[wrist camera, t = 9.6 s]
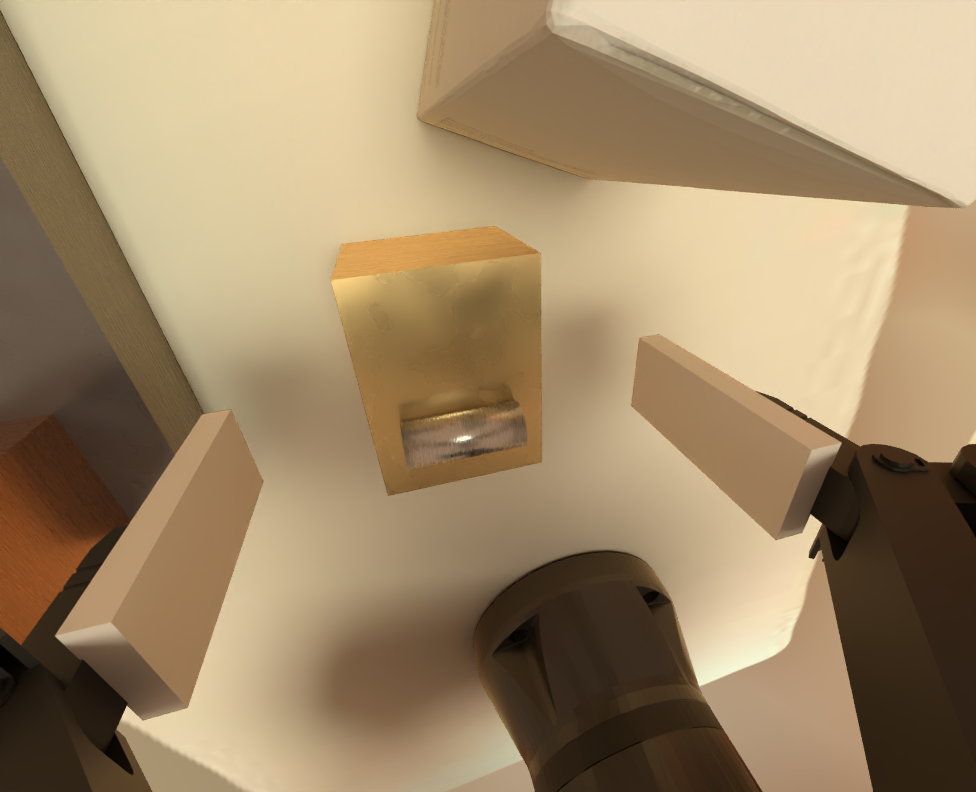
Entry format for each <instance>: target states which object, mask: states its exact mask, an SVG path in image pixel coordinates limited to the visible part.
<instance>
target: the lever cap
mask: <svg viewBox="0 0 976 792" xmlns="http://www.w3.org/2000/svg"><path fill="white" fill-rule="evenodd" d="M331 283H332V287H333V290H334V294H335V298H336V302H337V306H338V309H339V313H340V317H341V321H342V324H343V328H344V332H345V336H346V339H347V343H348V347H349V351H350V354H351V358H352V362H353V366H354V370H355V373H356V377H357V381H358V385H359V388H360V392H361V396H362V400H363V403H364V407H365V411H366V415H367V418H368V422H369V426H370V430H371V434H372V437H373V441H374V445H375V449H376V452H377V456H378V460H379V464H380V467H381V471H382V475H383V479H384V482H385V486H386V490H387V494H388V496H390V495H394V494H399V493H403V492H408V491H412V490H417V489H421V488H426V487H431V486H435V485H440V484H444V483H449V482H453V481H458V480H462V479H467V478H471V477H476V476H481V475H485V474H490V473H494V472H499V471H503V470H508V469H512V468H517V467H521V466H526V465H531V464H535V463H540V462H542V430H541V253H540V252H538V251H536V250H535V249H533V248H531V247H530V246H528V245H526V244H524V243H523V242H521V241H519V240H518V239H516V238H514V237H512V236H511V235H509V234H507V233H506V232H504V231H502V230H500V229H499V228H497V227H495V226H492V227H484V228H475V229H467V230H458V231H450V232H441V233H433V234H424V235H416V236H407V237H399V238H390V239H381V240H373V241H364V242H356V243H347V244H342V246H341V249H340V252H339V255H338V259H337V262H336V265H335V268H334V272H333V275H332V278H331Z"/></svg>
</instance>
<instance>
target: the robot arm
mask: <svg viewBox="0 0 976 792" xmlns="http://www.w3.org/2000/svg"><path fill="white" fill-rule="evenodd" d="M631 406H632V407H633V408H634V409H635V410H637V411H638V412H639V413H640V414H641V415H642V416H643V417H644V418H645V419H646V420H647V421H648V422H649V423H650V424H652V425H653V426H654V427H655V428H656V429H657V430H658V431H659V432H660V433H661V434H662V435H663V436H664V437H666V438H667V439H668V440H669V441H670V442H671V443H672V444H673V445H674V446H675V447H676V448H677V449H678V450H680V451H681V452H682V453H683V454H684V455H685V456H686V457H687V458H688V459H689V460H690V461H691V462H692V463H693V464H695V465H696V466H697V467H698V468H699V469H700V470H701V471H702V472H703V473H704V474H705V475H706V476H707V477H709V478H710V479H711V480H712V481H713V482H714V483H715V484H716V485H717V486H718V487H719V488H720V489H721V490H723V491H724V492H725V493H726V494H727V495H728V496H729V497H730V498H731V499H732V500H733V501H734V502H735V503H736V504H738V505H739V506H740V507H741V508H742V509H743V510H744V511H745V512H746V513H747V514H748V515H749V516H750V517H752V518H753V519H754V520H755V521H756V522H757V523H758V524H759V525H760V526H761V527H762V528H763V529H764V530H766V531H767V532H768V533H769V534H770V535H771V536H772V537H773V538H774V539H775V540H778V539H782V538H785V537H789V536H792V535H796V534H799V533H802V532H803V530H804V528H805V525H806V523H807V521H808V519H809V516H810V514H811V515H813V516H814V517H815V518H816V519H818V520H819V521H820V522H821V523H822V525H821V527H820V530H819V532H818V534H817V536H816V538H815V540H814V543H813V545H812V547H811V549H810V551H809V558H812V559H814V558H815V556H816V554H817V552H818V551H820V550H822V554H823V559H822V561H823V562H824V564H825V568H826V573H827V578H828V582H829V587H830V591H831V596H832V601H833V605H834V610H835V615H836V620H837V624H838V629H839V634H840V639H841V643H842V648H843V652H844V657H845V662H846V666H847V671H848V676H849V680H850V685H851V689H852V694H853V699H854V704H855V708H856V713H857V718H858V723H859V727H860V731H861V737H862V741H863V745H864V751H865V755H866V760H867V764H868V769H869V774H870V779H871V783H872V788H873V792H976V444H969V445H967V446H964V447H962V448H961V450H960V451H959V453H958V455H957V456H956V458H955V460H954V461H953V463H937V462H932V463H931V462H930V463H929V462H927V461H925V460H924V459H922V458H921V457H919V456H917V455H916V454H913V453H911V452H908V451H905V450H903V449H900V448H896V447H892V446H888V445H879V444H869V445H863V446H861V447H860V446H858V445H856V444H855V443H853V442H851V441H850V440H848V439H846V438H844V437H843V436H841V435H839V434H838V433H836V432H834V431H832V430H831V429H829V428H827V427H825V426H824V425H822V424H820V423H819V422H817V421H815V420H813V419H812V418H807V416H806V415H805V414H803V413H801V412H800V411H798V410H794V409H793V407H791V406H789V405H787V404H786V403H784V402H782V401H781V400H779V399H777V398H775V397H772V396H769V395H766V394H763V393H760V392H757V391H754V390H752V389H750V388H749V387H747V386H745V385H744V384H742V383H740V382H739V381H737V380H735V379H734V378H732V377H730V376H729V375H727V374H725V373H724V372H722V371H720V370H718V369H717V368H715V367H713V366H712V365H710V364H708V363H707V362H705V361H703V360H702V359H700V358H698V357H697V356H695V355H693V354H692V353H690V352H688V351H687V350H685V349H683V348H681V347H680V346H678V345H676V344H675V343H673V342H671V341H670V340H668V339H666V338H665V337H663V336H661V335H660V334H658V335H652V336H646V337H641V338H639V344H638V353H637V361H636V370H635V378H634V387H633V395H632V404H631ZM262 484H263V479H262V477H261V475H260V473H259V470H258V468H257V466H256V464H255V462H254V459H253V457H252V455H251V453H250V451H249V448H248V446H247V444H246V442H245V440H244V437H243V435H242V433H241V431H240V429H239V426H238V424H237V422H236V420H235V418H234V415H233V413H232V411H231V409H230V410H224V411H219V412H213V413H207V414H202V415H201V417H200V418H199V420H198V421H197V423H196V424H195V426H194V427H193V429H192V431H191V432H190V434H189V435H188V437H187V438H186V440H185V441H184V443H183V444H182V446H181V447H180V449H179V450H178V452H177V453H176V455H175V456H174V458H173V459H172V461H171V462H170V464H169V465H168V467H167V468H166V470H165V471H164V473H163V474H162V476H161V477H160V479H159V480H158V482H157V483H156V485H155V486H154V488H153V489H152V491H151V492H150V494H149V495H148V497H147V498H146V500H145V501H144V503H143V504H142V506H141V507H140V509H139V510H138V512H137V513H136V515H135V516H134V518H133V519H132V521H131V522H130V524H129V525H126V526H121V527H116V528H114V529H113V530H112V531H110V532H109V533H108V534H107V535H106V536H105V537H103V538H102V539H101V540H100V541H99V542H98V543H97V544H95V545H94V546H93V547H92V548H91V549H90V550H89V552H88V553H87V555H86V556H85V557H84V559H83V560H82V562H81V563H80V564H79V566H78V567H77V568H76V573H73V574H72V575H71V577H70V578H69V579H68V581H67V582H66V584H65V585H64V586H63V591H61V592H59V593H58V595H57V596H56V597H55V599H54V600H53V602H52V603H51V604H50V606H49V607H48V609H47V610H46V611H45V613H44V614H43V615H42V617H41V618H40V620H39V621H38V622H37V624H36V625H35V627H34V628H33V629H32V631H31V632H30V633H29V635H28V636H27V638H26V639H25V640H24V642H23V643H22V645H20V644H19V643H18V642H17V641H15V640H14V639H13V638H12V637H11V636H10V635H9V634H8V633H6V632H5V631H4V630H3V629H1V628H0V792H152V790H151V788H150V786H149V784H148V782H147V780H146V778H145V776H144V774H143V772H142V770H141V768H140V766H139V764H138V762H137V760H136V758H135V756H134V754H133V752H132V750H131V748H130V746H129V744H128V742H127V740H126V738H125V737H124V736H123V735H122V734H121V733H120V732H119V731H117V730H116V728H117V726H118V724H119V722H120V719H121V717H122V715H123V713H124V711H125V708H126V706H128V707H129V708H130V709H131V710H132V711H133V712H134V713H135V714H137V715H138V716H139V717H140V718H141V719H142V720H147V719H150V718H154V717H157V716H161V715H164V714H168V713H171V712H175V711H178V710H182V709H185V708H188V705H189V702H190V699H191V696H192V693H193V690H194V687H195V684H196V681H197V678H198V675H199V672H200V669H201V666H202V663H203V660H204V657H205V654H206V651H207V648H208V645H209V642H210V639H211V636H212V633H213V630H214V627H215V624H216V621H217V619H218V616H219V613H220V610H221V607H222V604H223V601H224V598H225V595H226V592H227V589H228V586H229V583H230V580H231V577H232V574H233V571H234V568H235V565H236V562H237V559H238V556H239V553H240V550H241V547H242V544H243V541H244V538H245V535H246V532H247V529H248V526H249V523H250V520H251V517H252V514H253V511H254V508H255V505H256V502H257V499H258V496H259V493H260V490H261V487H262ZM473 645H474V652H475V657H476V661H477V666H478V671H479V675H480V679H481V682H482V684H483V687H484V689H485V691H486V692H487V694H488V696H489V698H490V700H491V701H492V703H493V705H494V707H495V709H496V711H497V712H498V714H499V716H500V718H501V720H502V721H503V723H504V725H505V727H506V729H507V730H508V732H509V734H510V736H511V738H512V740H513V741H514V743H515V745H516V747H517V749H518V750H519V752H520V754H521V756H522V758H523V759H524V761H525V763H526V765H527V767H528V769H529V771H530V775H531V778H532V782H533V785H534V789H535V792H762V790H761V788H760V787H759V785H758V784H757V782H756V780H755V779H754V777H753V776H752V774H751V772H750V771H749V769H748V768H747V766H746V764H745V763H744V761H743V760H742V758H741V756H740V755H739V754H738V752H737V750H736V748H735V747H734V745H733V744H732V742H731V740H729V737H728V736H727V734H726V733H725V731H724V730H723V728H722V726H721V725H720V723H719V722H718V720H717V718H716V717H715V715H714V713H713V712H712V710H711V708H710V707H709V705H708V704H707V702H706V700H705V698H704V697H703V695H702V693H701V691H700V688H699V685H698V682H697V679H696V676H695V673H694V669H693V666H692V663H691V660H690V657H689V653H688V650H687V647H686V644H685V641H684V637H683V634H682V631H681V628H680V625H679V621H678V618H677V615H676V612H675V609H674V605H673V602H672V600H671V598H670V596H669V594H668V592H667V590H666V589H665V588H664V586H663V585H662V583H661V582H660V580H659V579H658V577H657V576H656V574H655V573H654V571H653V570H652V568H651V567H650V566H649V565H648V564H647V563H645V562H644V561H642V560H641V559H639V558H636V557H634V556H631V555H627V554H622V553H614V552H600V553H590V554H584V555H579V556H575V557H571V558H567V559H564V560H561V561H558V562H555V563H553V564H550V565H548V566H546V567H543V568H541V569H539V570H537V571H535V572H533V573H531V574H530V575H528V576H526V577H525V578H523V579H521V580H520V581H518V582H517V583H515V584H514V585H513V586H511V587H510V588H509V589H507V590H506V591H505V592H504V593H503V594H502V595H500V596H499V597H498V598H497V599H496V600H495V601H494V602H493V603H492V605H491V606H490V607H489V608H488V609H487V611H486V612H485V613H484V615H483V616H482V618H481V620H480V622H479V624H478V626H477V628H476V631H475V635H474V643H473Z"/></svg>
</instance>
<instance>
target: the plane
mask: <svg viewBox="0 0 976 792" xmlns="http://www.w3.org/2000/svg"><path fill="white" fill-rule="evenodd" d="M202 414H203V412H202V410H201V408H200V406H199V404H198V402H197V400H196V398H195V396H194V394H193V392H192V390H191V388H190V386H189V384H188V382H187V380H186V378H185V376H184V374H183V372H182V370H181V368H180V366H179V364H178V362H177V360H176V358H175V356H174V354H173V352H172V350H171V348H170V346H169V344H168V342H167V341H166V339H165V337H164V335H163V333H162V331H161V329H160V327H159V325H158V323H157V321H156V319H155V317H154V315H153V313H152V311H151V309H150V307H149V305H148V303H147V301H146V299H145V297H144V295H143V293H142V291H141V289H140V287H139V285H138V283H137V281H136V279H135V277H134V275H133V273H132V271H131V269H130V267H129V265H128V263H127V261H126V259H125V257H124V255H123V253H122V252H121V250H120V248H119V246H118V244H117V242H116V240H115V238H114V236H113V234H112V232H111V230H110V228H109V226H108V224H107V222H106V220H105V218H104V216H103V214H102V212H101V210H100V208H99V206H98V204H97V202H96V200H95V198H94V196H93V194H92V192H91V190H90V188H89V186H88V184H87V182H86V180H85V178H84V176H83V174H82V172H81V170H80V168H79V166H78V165H77V163H76V161H75V159H74V157H73V155H72V153H71V151H70V149H69V147H68V145H67V143H66V141H65V139H64V137H63V135H62V133H61V131H60V129H59V127H58V125H57V123H56V121H55V119H54V117H53V115H52V113H51V111H50V109H49V107H48V105H47V103H46V101H45V99H44V97H43V95H42V93H41V91H40V89H39V87H38V85H37V83H36V81H35V79H34V78H33V76H32V74H31V72H30V70H29V68H28V66H27V64H26V62H25V60H24V58H23V56H22V54H21V52H20V50H19V48H18V46H17V44H16V42H15V40H14V38H13V36H12V34H11V32H10V30H9V28H8V26H7V24H6V22H5V20H4V18H3V16H2V14H1V12H0V628H1V629H3V630H4V631H5V632H6V633H8V634H9V635H10V636H11V637H12V638H13V639H14V640H15V641H17V642H18V643H19V644H20V645H22V643H23V642H24V640H25V639H26V638H27V636H28V635H29V633H30V632H31V631H32V629H33V628H34V627H35V625H36V624H37V622H38V621H39V620H40V618H41V617H42V615H43V614H44V613H45V611H46V610H47V609H48V607H49V606H50V604H51V603H52V602H53V600H54V599H55V597H56V596H57V595H58V593H59V592H61V591H63V586H64V585H65V584H66V582H67V581H68V579H69V578H70V577H71V575H72V574H73V573H76V568H77V567H78V566H79V564H80V563H81V562H82V560H83V559H84V557H85V556H86V555H87V553H88V552H89V550H90V549H91V548H92V547H93V546H94V545H95V544H97V543H98V542H99V541H100V540H101V539H102V538H103V537H105V536H106V535H107V534H108V533H109V532H110V531H112V530H113V529H114V528H116V527H121V526H126V525H129V524H130V522H131V521H132V519H133V518H134V516H135V515H136V513H137V512H138V510H139V509H140V507H141V506H142V504H143V503H144V501H145V500H146V498H147V497H148V495H149V494H150V492H151V491H152V489H153V488H154V486H155V485H156V483H157V482H158V480H159V479H160V477H161V476H162V474H163V473H164V471H165V470H166V468H167V467H168V465H169V464H170V462H171V461H172V459H173V458H174V456H175V455H176V453H177V452H178V450H179V449H180V447H181V446H182V444H183V443H184V441H185V440H186V438H187V437H188V435H189V434H190V432H191V431H192V429H193V427H194V426H195V424H196V423H197V421H198V420H199V418H200V417H201V415H202Z"/></svg>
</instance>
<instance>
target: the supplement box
mask: <svg viewBox="0 0 976 792" xmlns="http://www.w3.org/2000/svg"><path fill="white" fill-rule="evenodd" d="M417 118H418V119H419V120H421V121H424V122H426V123H429V124H432V125H435V126H438V127H441V128H443V129H446V130H449V131H452V132H455V133H458V134H461V135H463V136H466V137H469V138H472V139H475V140H477V141H480V142H483V143H486V144H488V145H491V146H494V147H497V148H499V149H502V150H505V151H507V152H510V153H513V154H516V155H519V156H522V157H525V158H528V159H531V160H534V161H537V162H540V163H543V164H546V165H549V166H552V167H554V168H557V169H560V170H563V171H566V172H569V173H572V174H575V175H578V176H581V177H584V178H588V179H594V180H609V181H622V182H634V183H644V184H659V185H672V186H683V187H694V188H704V189H715V190H726V191H738V192H750V193H763V194H775V195H787V196H801V197H812V198H824V199H838V200H852V201H863V202H876V203H889V204H901V205H912V206H924V207H944V208H965V207H967V206H968V205H970V204H971V203H972V202H973V201H974V200H975V199H976V0H435V2H434V8H433V15H432V22H431V28H430V35H429V41H428V48H427V54H426V61H425V67H424V74H423V80H422V87H421V94H420V101H419V107H418V113H417Z"/></svg>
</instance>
